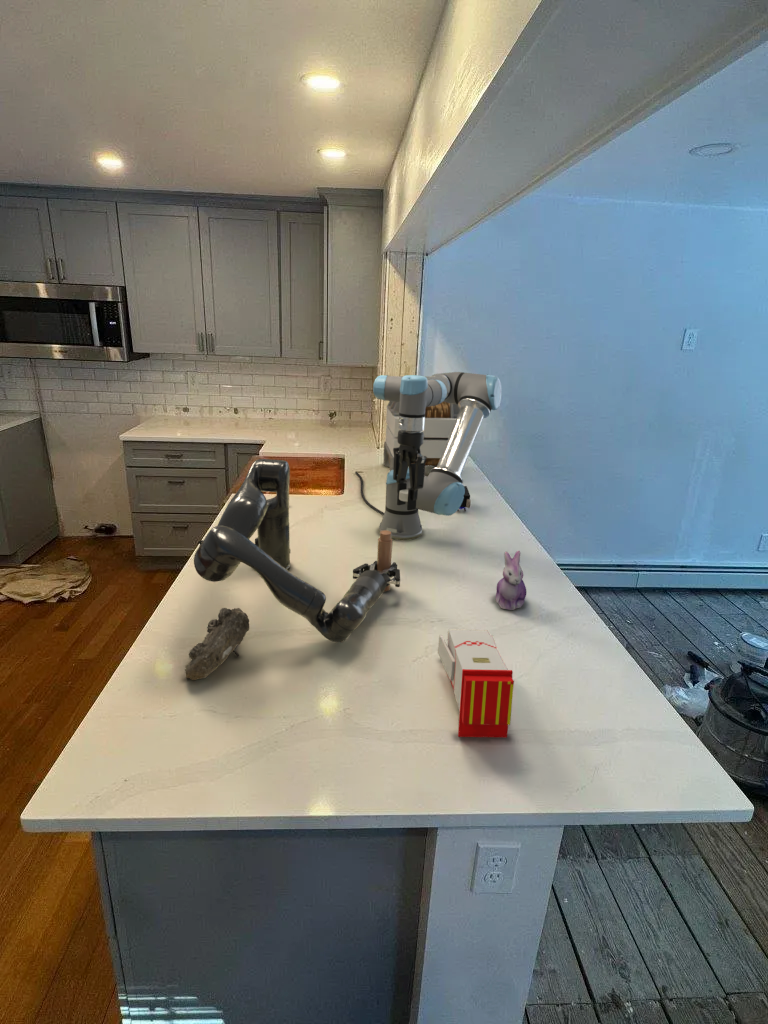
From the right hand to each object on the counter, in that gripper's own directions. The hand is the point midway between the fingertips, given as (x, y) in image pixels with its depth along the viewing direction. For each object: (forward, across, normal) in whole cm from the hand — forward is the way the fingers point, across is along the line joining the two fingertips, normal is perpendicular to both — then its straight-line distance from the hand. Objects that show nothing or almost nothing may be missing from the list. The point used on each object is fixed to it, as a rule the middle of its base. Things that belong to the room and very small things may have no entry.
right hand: (406, 506), depth 171 cm
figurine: (+18, +36, +10) cm, 42 cm away
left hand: (+12, +10, -13) cm, 20 cm away
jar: (+19, +11, -15) cm, 27 cm away
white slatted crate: (+18, -79, +68) cm, 105 cm away
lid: (-4, 0, 0) cm, 4 cm away
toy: (+19, +59, -26) cm, 67 cm away
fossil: (+19, +20, -65) cm, 70 cm away
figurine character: (+18, -31, +51) cm, 63 cm away
